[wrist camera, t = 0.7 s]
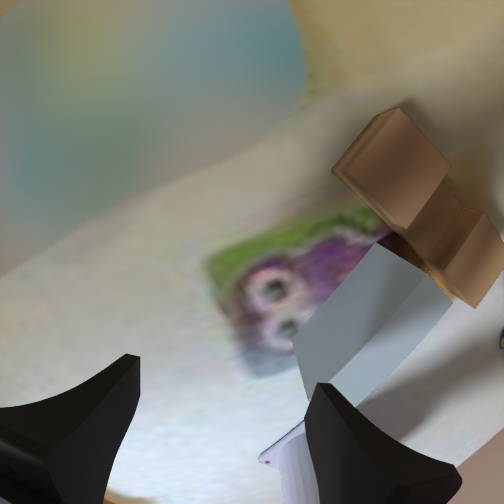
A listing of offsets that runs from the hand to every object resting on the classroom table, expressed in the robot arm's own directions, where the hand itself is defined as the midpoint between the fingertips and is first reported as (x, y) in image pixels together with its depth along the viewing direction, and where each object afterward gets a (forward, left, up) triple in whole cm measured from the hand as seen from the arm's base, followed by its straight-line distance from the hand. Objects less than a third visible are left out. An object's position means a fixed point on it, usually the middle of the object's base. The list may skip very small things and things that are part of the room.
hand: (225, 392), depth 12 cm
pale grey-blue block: (-7, -5, -10) cm, 13 cm away
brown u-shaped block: (-7, -13, -10) cm, 18 cm away
